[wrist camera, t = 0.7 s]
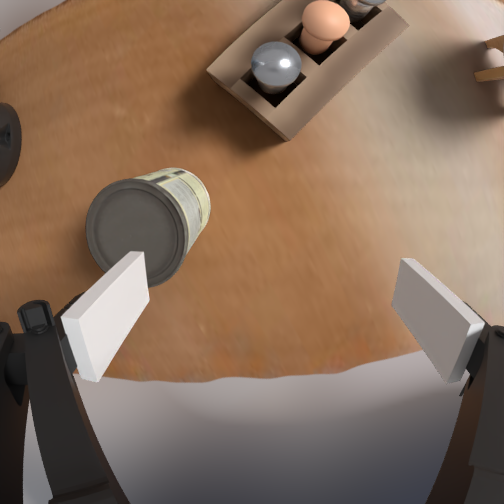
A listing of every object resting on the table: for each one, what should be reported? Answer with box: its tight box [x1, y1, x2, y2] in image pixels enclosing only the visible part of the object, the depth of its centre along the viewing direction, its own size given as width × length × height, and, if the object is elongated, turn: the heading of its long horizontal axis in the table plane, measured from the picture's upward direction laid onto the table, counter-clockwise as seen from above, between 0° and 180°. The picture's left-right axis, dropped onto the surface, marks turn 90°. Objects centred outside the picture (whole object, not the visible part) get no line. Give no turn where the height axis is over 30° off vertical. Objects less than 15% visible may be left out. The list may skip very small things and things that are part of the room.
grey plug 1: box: [251, 42, 301, 94], centre depth 26 cm, size 4×4×7 cm
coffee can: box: [86, 168, 211, 288], centre depth 33 cm, size 10×10×14 cm
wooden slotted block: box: [206, 0, 410, 142], centre depth 29 cm, size 12×22×6 cm, turn 138°
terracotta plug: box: [299, 0, 350, 55], centre depth 25 cm, size 4×4×7 cm
